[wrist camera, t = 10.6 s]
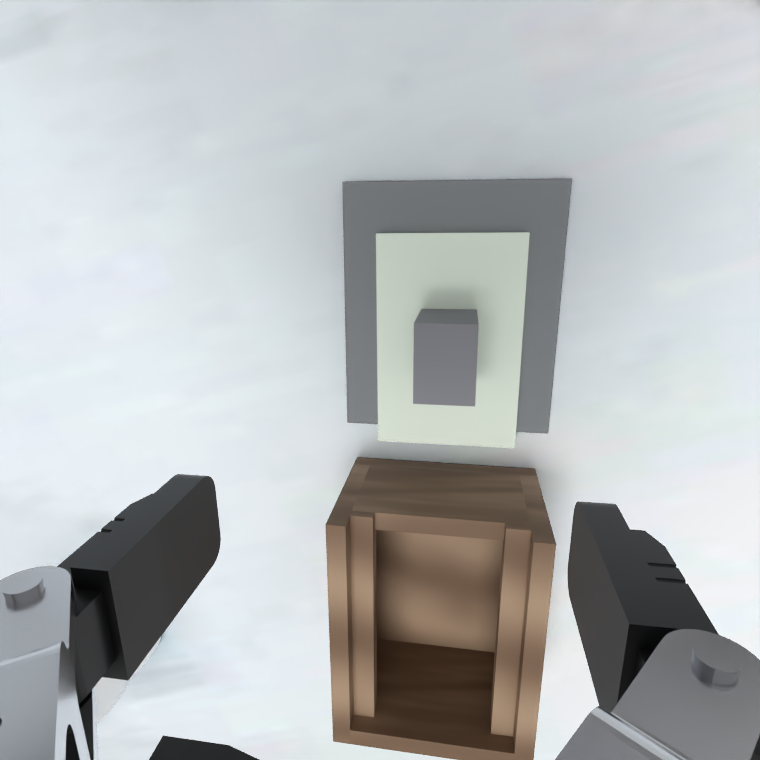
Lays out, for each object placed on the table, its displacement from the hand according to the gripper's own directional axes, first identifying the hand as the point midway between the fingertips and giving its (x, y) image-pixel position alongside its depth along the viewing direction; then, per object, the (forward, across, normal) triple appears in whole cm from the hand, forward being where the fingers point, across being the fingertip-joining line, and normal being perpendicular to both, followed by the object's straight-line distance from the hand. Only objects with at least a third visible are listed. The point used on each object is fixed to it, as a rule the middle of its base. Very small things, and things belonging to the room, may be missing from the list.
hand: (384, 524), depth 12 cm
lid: (+20, -1, 0) cm, 20 cm away
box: (+20, -1, +15) cm, 25 cm away
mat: (+20, -1, -2) cm, 20 cm away
